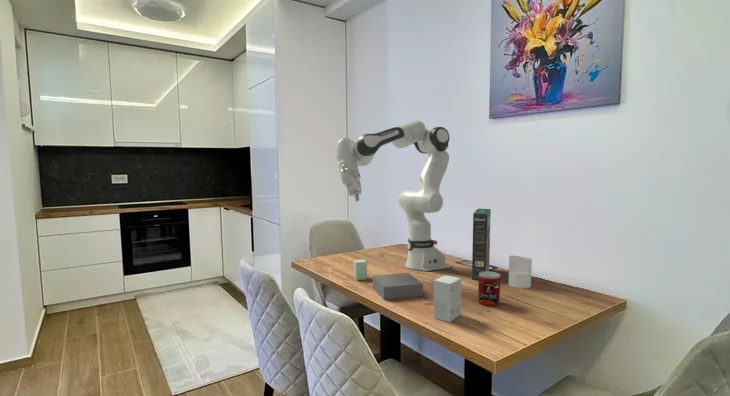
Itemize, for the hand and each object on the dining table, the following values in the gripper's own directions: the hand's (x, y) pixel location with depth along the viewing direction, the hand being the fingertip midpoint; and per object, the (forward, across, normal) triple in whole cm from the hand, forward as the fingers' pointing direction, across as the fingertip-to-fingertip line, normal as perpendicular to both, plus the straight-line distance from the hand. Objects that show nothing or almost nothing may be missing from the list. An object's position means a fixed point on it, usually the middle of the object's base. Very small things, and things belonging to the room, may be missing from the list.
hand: (354, 198), depth 172 cm
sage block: (+34, +12, +7) cm, 37 cm away
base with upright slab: (+52, +19, -60) cm, 81 cm away
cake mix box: (+43, +32, -46) cm, 70 cm away
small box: (+58, -22, -28) cm, 68 cm away
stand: (+44, -2, -10) cm, 45 cm away
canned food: (+56, -5, -44) cm, 71 cm away
